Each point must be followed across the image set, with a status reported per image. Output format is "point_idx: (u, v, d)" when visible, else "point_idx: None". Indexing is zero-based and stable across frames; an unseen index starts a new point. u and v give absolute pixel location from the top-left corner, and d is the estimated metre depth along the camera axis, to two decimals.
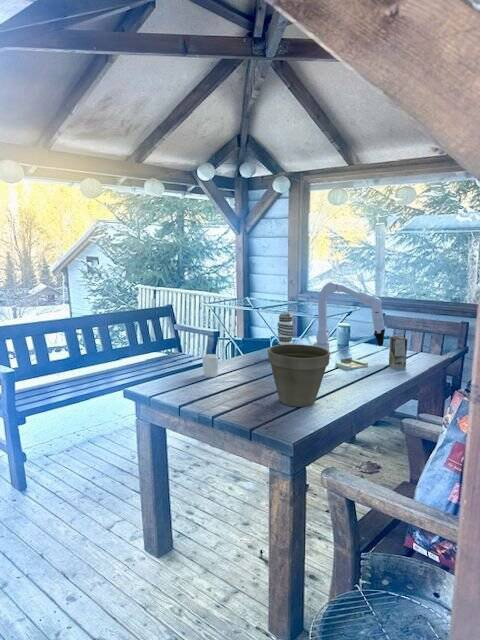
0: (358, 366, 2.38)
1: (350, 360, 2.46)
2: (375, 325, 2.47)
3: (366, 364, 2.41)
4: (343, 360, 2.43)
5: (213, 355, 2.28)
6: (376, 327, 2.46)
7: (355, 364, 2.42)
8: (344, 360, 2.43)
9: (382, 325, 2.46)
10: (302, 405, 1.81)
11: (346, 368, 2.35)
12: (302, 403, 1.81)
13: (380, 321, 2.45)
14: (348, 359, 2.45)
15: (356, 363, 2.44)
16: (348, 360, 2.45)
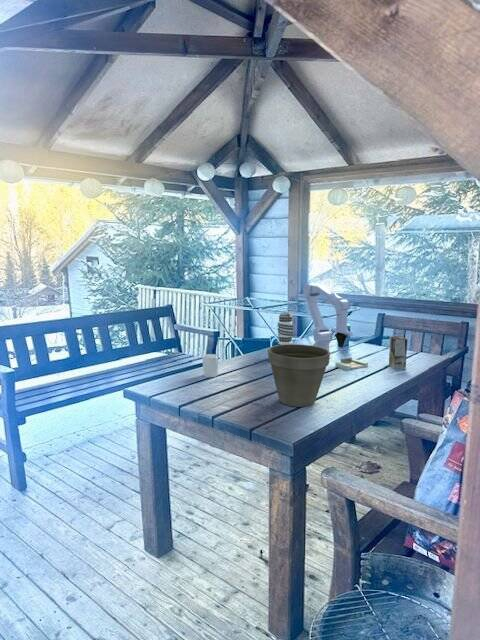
0: (358, 366, 2.38)
1: (350, 360, 2.46)
2: None
3: (366, 364, 2.41)
4: (343, 360, 2.43)
5: (213, 355, 2.28)
6: None
7: (355, 364, 2.42)
8: (344, 360, 2.43)
9: (336, 327, 2.46)
10: (302, 405, 1.81)
11: (346, 368, 2.35)
12: (302, 403, 1.81)
13: None
14: (348, 359, 2.45)
15: (356, 363, 2.44)
16: (348, 360, 2.45)
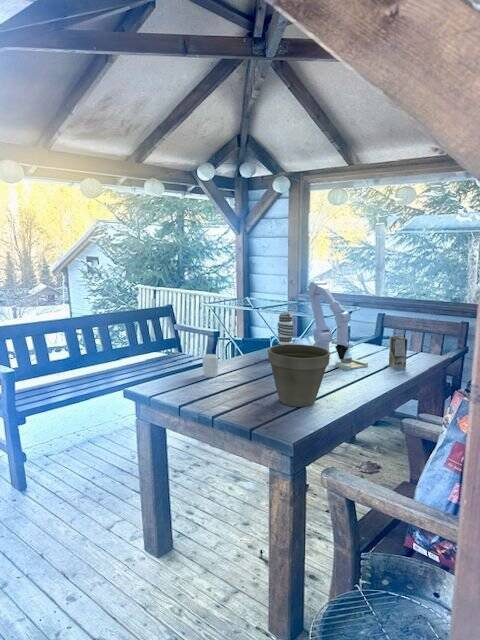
0: (358, 366, 2.38)
1: (350, 360, 2.46)
2: None
3: (366, 364, 2.41)
4: (343, 360, 2.43)
5: (213, 355, 2.28)
6: None
7: (355, 364, 2.42)
8: (344, 360, 2.43)
9: None
10: (302, 405, 1.81)
11: (346, 368, 2.35)
12: (302, 403, 1.81)
13: None
14: (348, 359, 2.45)
15: (356, 363, 2.44)
16: (348, 360, 2.45)
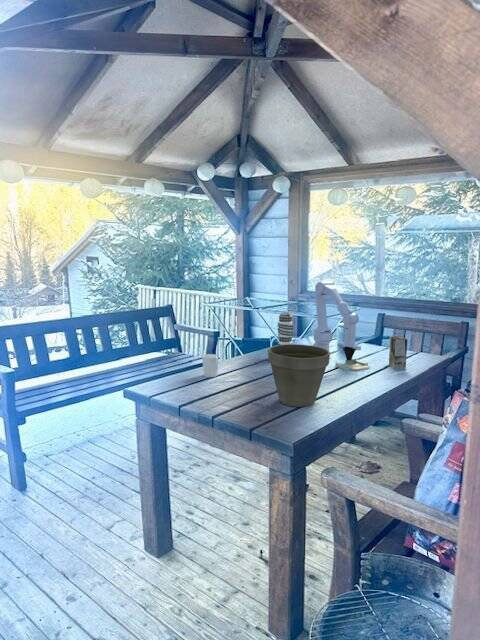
0: (363, 368, 2.35)
1: (355, 361, 2.43)
2: None
3: (366, 364, 2.41)
4: (348, 361, 2.40)
5: (213, 355, 2.28)
6: None
7: (360, 365, 2.39)
8: (349, 361, 2.40)
9: (344, 341, 2.42)
10: (302, 405, 1.81)
11: (346, 368, 2.35)
12: (302, 403, 1.81)
13: None
14: (353, 360, 2.42)
15: (361, 364, 2.41)
16: (353, 362, 2.42)
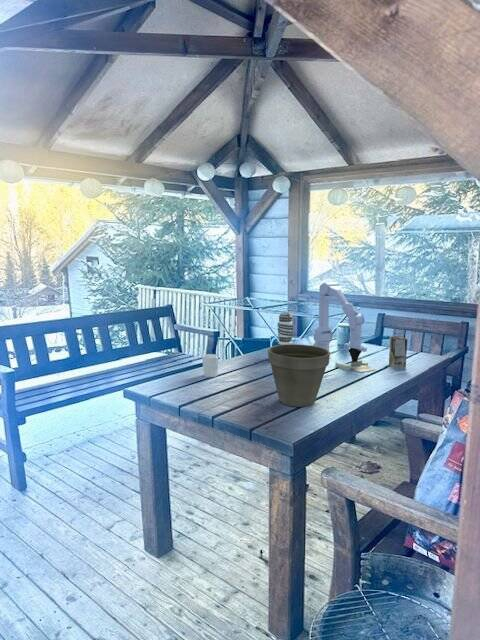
0: (368, 370, 2.32)
1: (360, 363, 2.39)
2: None
3: (366, 364, 2.41)
4: (353, 363, 2.36)
5: (213, 355, 2.28)
6: None
7: (365, 368, 2.35)
8: (354, 363, 2.37)
9: (349, 343, 2.39)
10: (302, 405, 1.81)
11: (346, 368, 2.35)
12: (302, 403, 1.81)
13: None
14: (358, 361, 2.38)
15: (366, 366, 2.37)
16: (358, 363, 2.39)
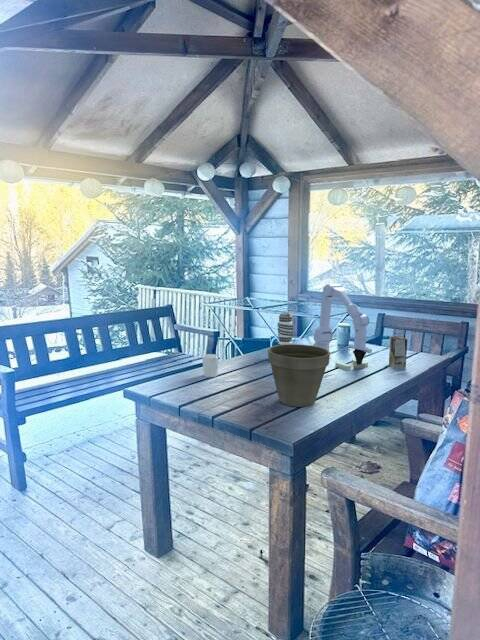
0: None
1: (363, 366, 2.38)
2: None
3: (366, 364, 2.41)
4: (356, 366, 2.35)
5: (213, 355, 2.28)
6: None
7: None
8: (357, 366, 2.35)
9: (354, 344, 2.36)
10: (302, 405, 1.81)
11: (346, 368, 2.35)
12: (302, 403, 1.81)
13: None
14: (361, 364, 2.37)
15: None
16: (361, 366, 2.37)
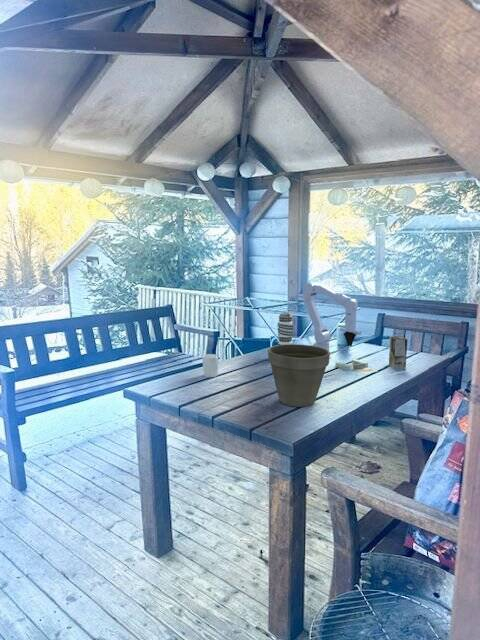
0: None
1: (363, 366, 2.38)
2: None
3: (366, 364, 2.41)
4: (355, 366, 2.35)
5: (213, 355, 2.28)
6: None
7: (368, 370, 2.34)
8: (357, 366, 2.35)
9: (345, 327, 2.49)
10: (302, 405, 1.81)
11: (346, 368, 2.35)
12: (302, 403, 1.81)
13: None
14: (361, 364, 2.37)
15: (369, 369, 2.36)
16: (361, 366, 2.37)
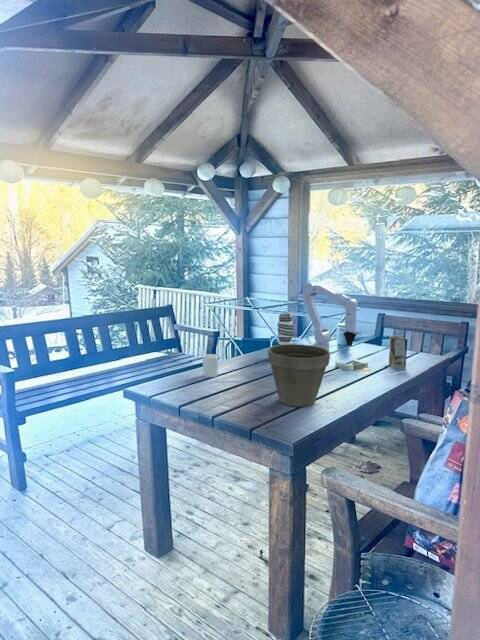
0: None
1: (363, 366, 2.38)
2: None
3: (366, 364, 2.41)
4: (356, 366, 2.35)
5: (213, 355, 2.28)
6: None
7: (368, 370, 2.34)
8: (357, 366, 2.35)
9: (345, 327, 2.49)
10: (302, 405, 1.81)
11: (346, 368, 2.35)
12: (302, 403, 1.81)
13: None
14: (361, 364, 2.37)
15: (369, 369, 2.36)
16: (361, 366, 2.37)
